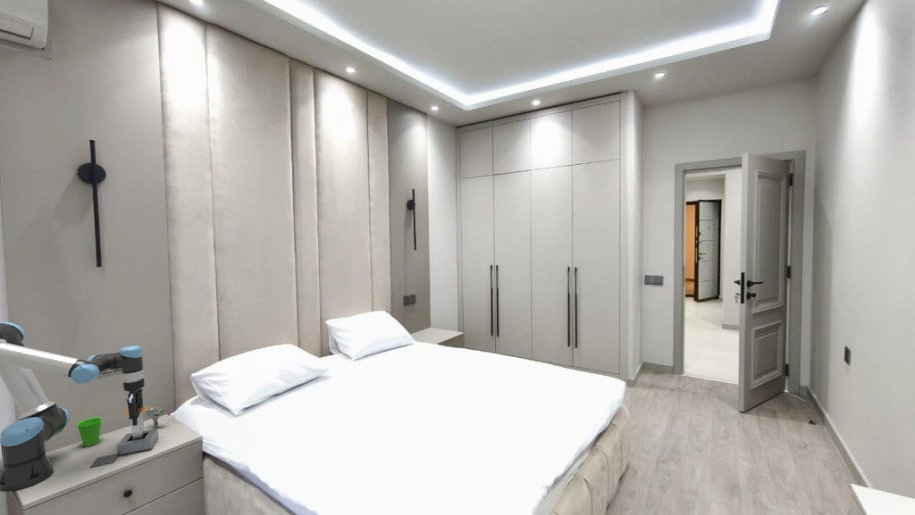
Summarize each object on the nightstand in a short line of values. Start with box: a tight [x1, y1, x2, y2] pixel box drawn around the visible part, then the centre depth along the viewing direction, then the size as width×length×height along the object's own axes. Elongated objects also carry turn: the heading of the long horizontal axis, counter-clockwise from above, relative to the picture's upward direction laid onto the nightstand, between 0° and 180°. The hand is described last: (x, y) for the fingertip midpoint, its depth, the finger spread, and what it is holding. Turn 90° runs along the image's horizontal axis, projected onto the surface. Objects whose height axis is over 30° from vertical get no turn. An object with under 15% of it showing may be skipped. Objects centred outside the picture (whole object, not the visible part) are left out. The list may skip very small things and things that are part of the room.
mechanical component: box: [144, 406, 165, 429], centre depth 202 cm, size 3×10×10 cm, turn 78°
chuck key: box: [123, 405, 149, 441], centre depth 183 cm, size 4×8×14 cm, turn 115°
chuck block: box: [116, 427, 159, 458], centre depth 183 cm, size 12×12×5 cm
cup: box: [76, 416, 103, 447], centre depth 187 cm, size 9×9×11 cm
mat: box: [89, 453, 119, 469], centre depth 173 cm, size 8×8×1 cm
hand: (137, 429), depth 183 cm, fingers closed on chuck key, 3 cm apart
